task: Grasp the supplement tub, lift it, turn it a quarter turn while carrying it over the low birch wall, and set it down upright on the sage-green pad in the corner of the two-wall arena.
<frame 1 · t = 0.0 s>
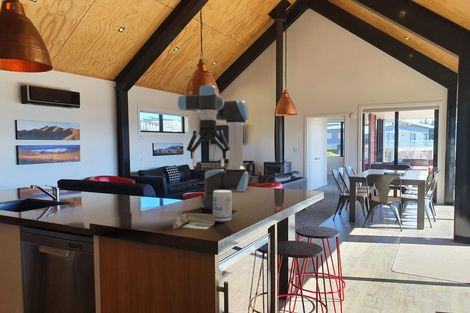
hand: (208, 166, 152), 28 cm above the counter, fingers open, 13 cm apart
supplement tub: (222, 220, 168), on the counter
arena: (198, 225, 155), on the counter
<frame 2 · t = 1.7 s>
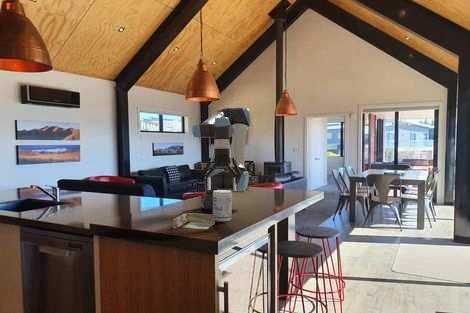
hand: (221, 190, 168), 15 cm above the counter, fingers open, 13 cm apart
nothing on the counter moved.
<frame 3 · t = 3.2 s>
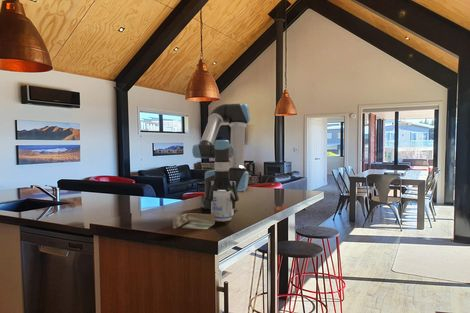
hand: (222, 214, 168), 3 cm above the counter, fingers closed on supplement tub, 9 cm apart
supplement tub: (222, 220, 168), on the counter, touching gripper
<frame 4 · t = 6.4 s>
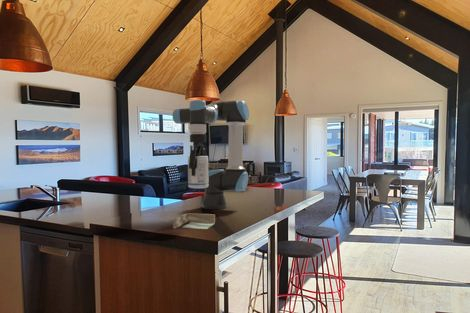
hand: (198, 181, 155), 21 cm above the counter, fingers closed on supplement tub, 9 cm apart
supplement tub: (198, 187, 155), point 18 cm above the counter, touching gripper
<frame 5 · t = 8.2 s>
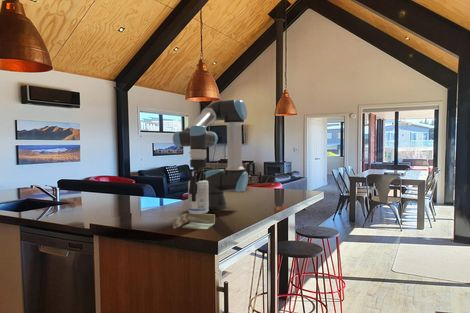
hand: (198, 206, 155), 9 cm above the counter, fingers closed on supplement tub, 9 cm apart
supplement tub: (198, 212, 155), point 6 cm above the counter, touching gripper
when the fingers open (5 cm above the counter, at t = 9.6 s): supplement tub drops 2 cm, resting on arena.
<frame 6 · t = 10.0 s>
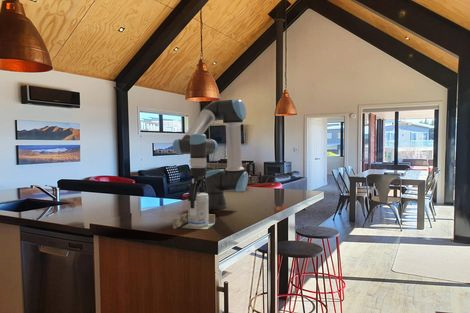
hand: (198, 212, 155), 6 cm above the counter, fingers open, 13 cm apart
supplement tub: (198, 225, 155), resting on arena
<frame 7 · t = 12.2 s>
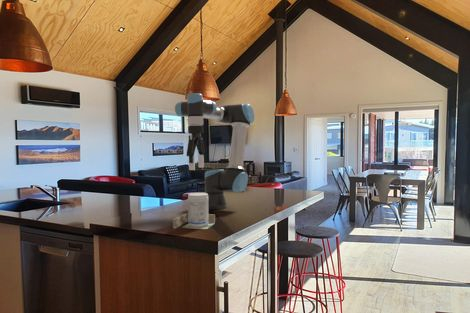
hand: (196, 168, 164), 26 cm above the counter, fingers open, 13 cm apart
nothing on the counter moved.
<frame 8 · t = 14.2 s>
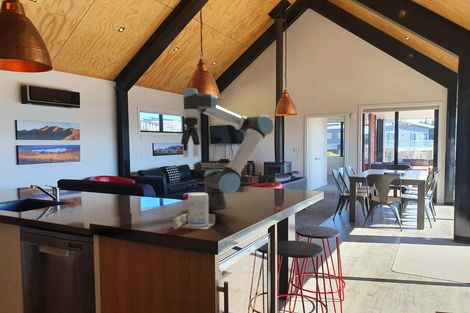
hand: (191, 156, 180), 32 cm above the counter, fingers open, 13 cm apart
nothing on the counter moved.
at the end: supplement tub 0.3 cm from the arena (horizontally); supplement tub tilted 0°; supplement tub resting on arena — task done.
